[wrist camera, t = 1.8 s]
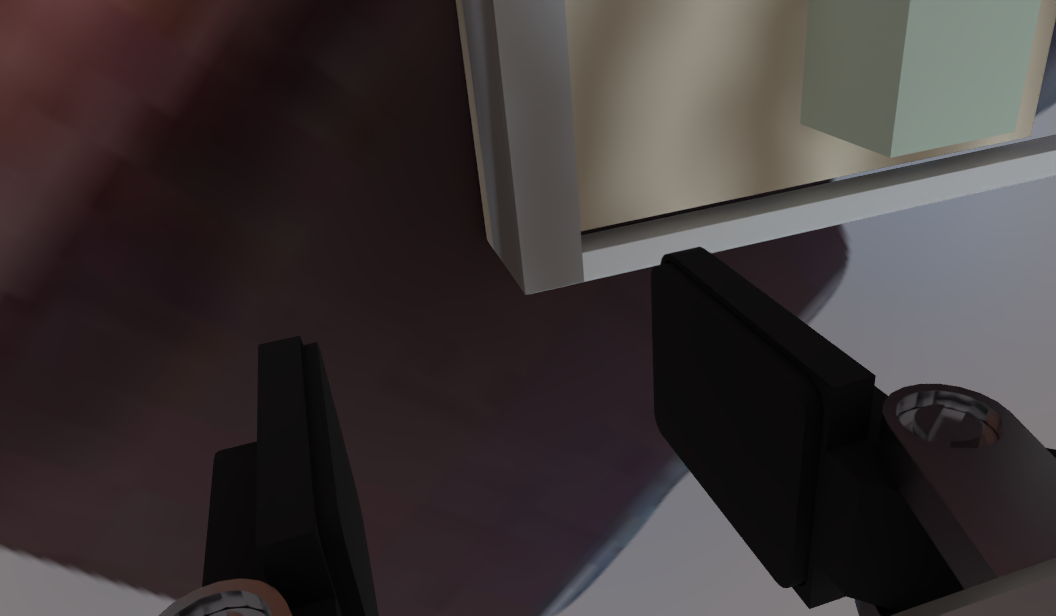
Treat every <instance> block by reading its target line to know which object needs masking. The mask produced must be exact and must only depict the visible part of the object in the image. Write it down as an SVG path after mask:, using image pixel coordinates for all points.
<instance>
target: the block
mask: <svg viewBox="0 0 1056 616" xmlns="http://www.w3.org/2000/svg"><path fill="white" fill-rule="evenodd" d="M1040 5H1041V0H809V2H808V16H807V30H806V45H805V59H804V74H803V88H802V103H801V117H800V124H802V125H804V126H807V127H810V128H812V129H815V130H818V131H820V132H823V133H826V134H828V135H831V136H833V137H836V138H839V139H841V140H844V141H847V142H849V143H852V144H855V145H857V146H860V147H863V148H865V149H868V150H871V151H873V152H876V153H879V154H881V155H884V156H886V157H889V158H892V157H897V156H902V155H907V154H911V153H916V152H921V151H926V150H931V149H935V148H940V147H945V146H950V145H955V144H959V143H964V142H969V141H974V140H979V139H983V138H988V137H993V136H998V135H1003V134H1008V133H1012V132H1015V129H1016V124H1017V119H1018V114H1019V109H1020V104H1021V99H1022V94H1023V89H1024V84H1025V79H1026V74H1027V69H1028V64H1029V59H1030V54H1031V49H1032V44H1033V39H1034V34H1035V29H1036V25H1037V20H1038V15H1039V10H1040Z"/></svg>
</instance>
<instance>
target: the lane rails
mask: <svg viewBox="0 0 1056 616" xmlns="http://www.w3.org/2000/svg"><path fill="white" fill-rule="evenodd" d="M1055 175H1056V135H1053V136H1048V137H1043V138H1038V139H1033V140H1029V141H1024V142H1019V143H1014V144H1010V145H1005V146H1000V147H995V148H991V149H986V150H981V151H977V152H972V153H967V154H963V155H958V156H953V157H949V158H944V159H939V160H934V161H929V162H925V163H920V164H915V165H911V166H906V167H901V168H896V169H892V170H887V171H882V172H878V173H873V174H868V175H864V176H858V177H854V178H849V179H845V180H840V181H835V182H830V183H825V184H821V185H816V186H811V187H807V188H802V189H797V190H792V191H788V192H783V193H778V194H773V195H769V196H764V197H759V198H755V199H750V200H745V201H740V202H736V203H731V204H726V205H722V206H717V207H712V208H707V209H703V210H698V211H693V212H688V213H684V214H679V215H674V216H670V217H665V218H660V219H655V220H651V221H646V222H641V223H637V224H632V225H627V226H622V227H618V228H613V229H608V230H603V231H599V232H594V233H589V234H585V235H581V243H582V257H583V272H584V282H586V281H590V280H595V279H599V278H604V277H608V276H612V275H617V274H621V273H626V272H630V271H635V270H639V269H643V268H648V267H652V266H657V265H660V263H661V259H662V257H663V256H664V255H665V254H669V253H673V252H678V251H682V250H687V249H691V248H696V247H702V248H704V249H706V250H707V251H708V252H710V253H714V252H719V251H723V250H728V249H732V248H736V247H741V246H745V245H750V244H754V243H759V242H763V241H767V240H772V239H776V238H781V237H785V236H790V235H794V234H798V233H803V232H807V231H812V230H816V229H821V228H825V227H830V226H834V225H838V224H843V223H847V222H852V221H856V220H861V219H865V218H869V217H873V216H878V215H883V214H887V213H892V212H896V211H900V210H905V209H909V208H914V207H918V206H922V205H927V204H931V203H936V202H940V201H945V200H949V199H953V198H958V197H962V196H966V195H971V194H976V193H980V192H985V191H989V190H993V189H997V188H1002V187H1006V186H1011V185H1016V184H1020V183H1024V182H1029V181H1033V180H1038V179H1041V178H1047V177H1051V176H1055ZM580 283H581V282H580ZM576 284H577V283H576ZM572 285H573V284H572ZM567 286H568V285H567ZM563 287H564V286H563ZM558 288H559V287H558ZM554 289H555V288H554ZM549 290H550V289H549ZM545 291H546V290H545ZM540 292H542V291H540ZM536 293H537V292H536ZM532 294H533V293H532Z"/></svg>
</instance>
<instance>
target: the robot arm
mask: <svg viewBox="0 0 1056 616" xmlns="http://www.w3.org/2000/svg"><path fill="white" fill-rule="evenodd" d="M651 294H652V336H653V379H654V413H655V419H656V423H657V426H658V428H659V430H660V432H661V434H662V435H663V437H664V438H665V439H666V441H667V442H668V443H669V445H670V446H671V447H672V448H673V450H674V451H675V452H676V454H677V455H678V456H679V457H680V459H681V460H682V461H683V463H684V464H685V465H686V466H687V468H688V469H689V470H690V472H691V473H692V474H693V475H694V477H695V478H696V479H697V480H698V482H699V483H700V484H701V486H702V487H703V488H704V489H705V491H706V492H707V493H708V495H709V496H710V497H711V498H712V500H713V501H714V502H715V504H716V505H717V506H718V508H719V509H720V510H721V512H722V513H723V514H724V515H725V517H726V518H727V519H728V521H729V522H730V523H731V524H732V526H733V527H734V528H735V530H736V531H737V532H738V533H739V535H740V536H741V537H742V539H743V540H744V541H745V542H746V544H747V545H748V546H749V548H750V549H751V550H752V551H753V553H754V554H755V555H756V557H757V558H758V559H759V560H760V562H761V563H762V564H763V566H764V567H765V568H766V569H767V571H768V572H769V573H770V575H771V576H772V577H773V579H774V580H775V581H776V582H777V583H778V584H779V585H780V586H781V587H783V588H789V587H792V588H793V589H794V590H795V592H796V593H797V594H798V595H799V597H800V598H801V599H802V600H803V602H804V603H805V604H806V605H807V607H808V608H809V609H811V608H814V607H817V606H820V605H823V604H825V603H828V602H831V601H834V600H837V599H840V598H842V597H845V596H847V597H850V598H854V599H855V603H856V607H857V610H858V613H859V616H1056V450H1054V449H1049V448H1045V447H1044V446H1043V445H1042V444H1041V443H1040V442H1039V441H1038V440H1037V439H1036V438H1035V437H1034V436H1033V435H1032V433H1030V432H1029V430H1027V429H1026V427H1025V426H1024V425H1023V424H1022V423H1021V422H1020V421H1019V420H1018V419H1017V418H1016V417H1015V416H1014V415H1013V414H1012V413H1011V412H1010V411H1008V410H1007V409H1006V408H1005V407H1003V406H1002V405H1001V404H1000V403H998V402H997V401H995V400H993V399H991V398H989V397H987V396H985V395H982V394H981V393H978V392H975V391H971V390H968V389H965V388H961V387H957V386H950V385H943V384H918V385H913V386H908V387H903V388H901V389H899V390H897V391H895V392H893V393H891V394H890V395H889V396H887V395H886V394H885V393H883V392H882V391H881V390H880V389H878V388H877V387H876V386H874V384H875V375H874V374H873V373H871V372H870V371H869V370H867V369H866V368H865V367H863V366H862V365H861V364H859V363H858V362H856V361H855V360H854V359H852V358H851V357H850V356H848V355H847V354H846V353H844V352H843V351H842V350H840V349H839V348H838V347H836V346H835V345H834V344H832V343H831V342H830V341H828V340H827V339H825V338H824V337H823V336H821V335H820V334H819V333H817V332H816V331H815V330H813V329H812V328H811V327H809V326H808V325H807V324H805V323H804V322H803V321H801V320H800V319H799V318H797V317H796V316H795V315H793V314H792V313H790V312H789V311H788V310H786V309H785V308H784V307H782V306H781V305H780V304H778V303H777V302H776V301H774V300H773V299H772V298H770V297H769V296H768V295H766V294H765V293H764V292H762V291H761V290H759V289H758V288H757V287H755V286H754V285H753V284H751V283H750V282H749V281H747V280H746V279H745V278H743V277H742V276H741V275H739V274H738V273H737V272H735V271H734V270H733V269H731V268H730V267H728V266H727V265H726V264H724V263H723V262H722V261H720V260H719V259H718V258H716V257H715V256H714V255H712V254H711V253H710V252H708V251H707V250H706V249H704V248H702V247H696V248H691V249H687V250H682V251H678V252H673V253H669V254H665V255H664V256H663V257H662V259H661V263H660V265H658V266H654V267H653V269H652V272H651ZM159 616H379V614H378V608H377V602H376V596H375V590H374V584H373V578H372V572H371V566H370V560H369V554H368V548H367V542H366V536H365V530H364V523H363V518H362V512H361V507H360V503H359V498H358V494H357V490H356V486H355V482H354V479H353V475H352V471H351V467H350V463H349V459H348V455H347V452H346V448H345V444H344V440H343V436H342V432H341V428H340V425H339V421H338V417H337V413H336V409H335V405H334V401H333V398H332V394H331V390H330V386H329V382H328V378H327V374H326V371H325V367H324V363H323V359H322V355H321V351H320V348H319V344H318V342H317V343H312V344H308V345H303V343H302V340H301V337H300V336H296V337H292V338H287V339H283V340H278V341H274V342H269V343H265V344H260V345H259V347H258V413H257V442H253V443H249V444H245V445H241V446H237V447H233V448H229V449H225V450H221V451H218V452H217V453H216V454H215V458H214V465H213V476H212V486H211V497H210V508H209V519H208V530H207V541H206V551H205V562H204V573H203V584H202V588H199V589H196V590H194V591H193V592H191V593H189V594H187V595H186V596H184V597H182V598H181V599H179V600H177V601H176V602H174V603H172V604H171V605H170V606H169V607H168V608H167V609H166V610H164V611H163V612H162V613H161V614H160V615H159Z"/></svg>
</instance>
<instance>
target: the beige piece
mask: <svg viewBox="0 0 1056 616" xmlns="http://www.w3.org/2000/svg"><path fill="white" fill-rule="evenodd" d="M808 2H809V0H456V7H457V15H458V22H459V30H460V38H461V45H462V53H463V61H464V68H465V76H466V84H467V91H468V99H469V106H470V114H471V122H472V129H473V137H474V145H475V152H476V160H477V167H478V175H479V183H480V190H481V198H482V206H483V213H484V221H485V229H486V236H487V241H488V242H489V243H490V245H491V246H492V248H493V249H494V251H495V252H496V253H497V255H498V256H499V258H500V259H501V261H502V262H503V263H504V265H505V266H506V268H507V269H508V271H509V272H510V273H511V275H512V276H513V278H514V279H515V281H516V282H517V283H518V285H519V286H520V288H521V289H522V291H523V292H524V293H525V295H527V294H532V293H536V292H540V291H545V290H549V289H554V288H558V287H563V286H567V285H572V284H576V283H580V282H584V272H583V257H582V243H581V231H584V230H589V229H594V228H599V227H603V226H608V225H613V224H618V223H622V222H627V221H632V220H637V219H641V218H646V217H651V216H656V215H660V214H665V213H670V212H675V211H679V210H684V209H689V208H694V207H698V206H703V205H708V204H713V203H717V202H722V201H727V200H732V199H736V198H741V197H746V196H751V195H755V194H760V193H765V192H770V191H774V190H779V189H784V188H789V187H793V186H798V185H803V184H808V183H812V182H817V181H822V180H827V179H831V178H836V177H841V176H845V175H850V174H855V173H859V172H864V171H869V170H874V169H879V168H883V167H888V166H893V165H898V164H902V163H907V162H912V161H916V160H921V159H926V158H931V157H936V156H941V155H945V154H950V153H955V152H959V151H964V150H969V149H974V148H979V147H983V146H988V145H992V144H998V143H1002V142H1007V141H1012V140H1017V139H1021V138H1026V137H1030V136H1031V132H1032V128H1033V123H1034V118H1035V113H1036V109H1037V104H1038V99H1039V94H1040V90H1041V85H1042V80H1043V76H1044V71H1045V66H1046V61H1047V57H1048V52H1049V47H1050V43H1051V38H1052V33H1053V28H1054V24H1055V19H1056V0H1041V5H1040V10H1039V15H1038V20H1037V25H1036V29H1035V34H1034V39H1033V44H1032V49H1031V54H1030V59H1029V64H1028V69H1027V74H1026V79H1025V84H1024V89H1023V94H1022V99H1021V104H1020V109H1019V114H1018V119H1017V124H1016V129H1015V132H1012V133H1008V134H1003V135H998V136H993V137H988V138H983V139H979V140H974V141H969V142H964V143H959V144H955V145H950V146H945V147H940V148H935V149H931V150H926V151H921V152H916V153H911V154H907V155H902V156H897V157H892V158H889V157H886V156H884V155H881V154H879V153H876V152H873V151H871V150H868V149H865V148H863V147H860V146H857V145H855V144H852V143H849V142H847V141H844V140H841V139H839V138H836V137H833V136H831V135H828V134H826V133H823V132H820V131H818V130H815V129H812V128H810V127H807V126H804V125H802V124H800V117H801V103H802V88H803V74H804V59H805V45H806V30H807V16H808Z"/></svg>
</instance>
